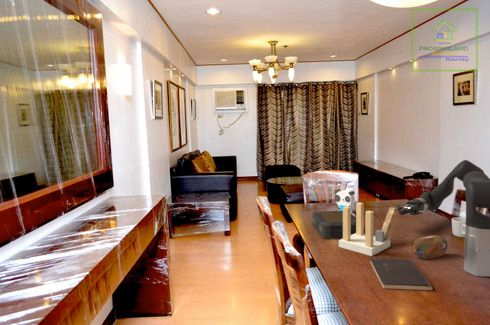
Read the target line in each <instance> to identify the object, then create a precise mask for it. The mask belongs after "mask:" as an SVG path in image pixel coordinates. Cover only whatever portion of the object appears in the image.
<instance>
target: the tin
mask: <svg viewBox="0 0 490 325" xmlns="http://www.w3.org/2000/svg"><path fill="white" fill-rule="evenodd" d="M412 248H413V254H414V255H415V256H416V257H418V258H420V259H422V260H427V259H428V260H429V259H433V258H438V257H441V256H443V255H445V254H446V252H447V249H448V242H447V239H446V238H445V237H444V236H442V235H441V236H440V235H429V236H423V237H418V238H417V239H416V240H414V242H413V246H412Z"/></svg>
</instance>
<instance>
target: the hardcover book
mask: <svg viewBox="0 0 490 325" xmlns="http://www.w3.org/2000/svg"><path fill="white" fill-rule="evenodd" d="M369 260H370V264H371V266H372V269H373V270H374V272H375V274H376V276H377V278H378V280H379V283H380V284H381V287H382V288H383V289H389V290H390V289H391V290H394V289H395V290H414V291H415V290H416V291H417V290H419V291H434V286H433V285H432V283H431V282H430V281H429V280H428V278H427V277H426V276H425V274H423V272H422V271H421V269H420V268H419V267H418V266H417V264H416V263H415V262H414V261H413V260H412V259H411V258H401V257H400V258H399V257H398V258H394V257H392V258H390V257H389V258H387V257H369Z"/></svg>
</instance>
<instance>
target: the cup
mask: <svg viewBox="0 0 490 325" xmlns="http://www.w3.org/2000/svg"><path fill="white" fill-rule="evenodd" d="M465 223H466V217H458V216H457V217H452V218H451V229H452V231H451V232H452V234H453V236H455V237H457V238H465Z"/></svg>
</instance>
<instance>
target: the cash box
mask: <svg viewBox="0 0 490 325" xmlns="http://www.w3.org/2000/svg"><path fill="white" fill-rule="evenodd" d="M311 217H312V222H311V223H312V226H313V227H315V228H314V229H315V231H318V232H317V233H318V235H319V236H320V237H321V238H322V239H324V240H337V239H338V240H341V239H343V211H339V210H326V211H325V210H324V211H323V210H321V211H312V213H311ZM355 233H356V215H355V216H353V215H352V214H351V235H353V234H355Z"/></svg>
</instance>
